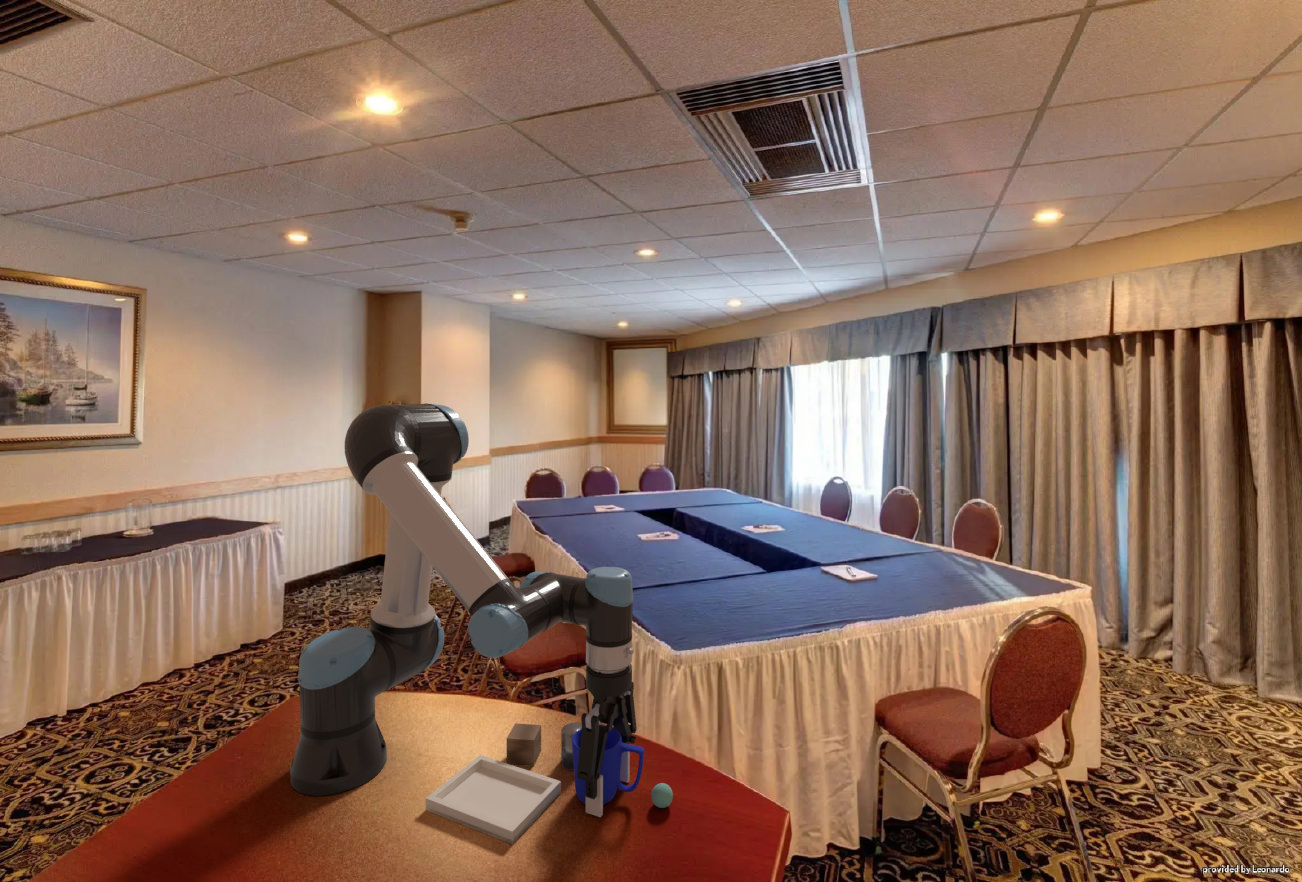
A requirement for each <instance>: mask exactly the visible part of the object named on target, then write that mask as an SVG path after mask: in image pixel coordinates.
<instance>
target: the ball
mask: <svg viewBox="0 0 1302 882" xmlns="http://www.w3.org/2000/svg"><path fill="white" fill-rule="evenodd" d="M650 795H651V797H650V798H651V801H652V803H653V805H655V807H657V808H659V809H664V808H667V807H669V806H670V804H671V803H672V802H673V798H674V793H673V790H672V788H671V786H670V785H669V784H667V783H663V782H661V783H658V784H656V785H654V787H653V788H652V790H651V794H650Z"/></svg>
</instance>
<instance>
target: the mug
mask: <svg viewBox="0 0 1302 882" xmlns="http://www.w3.org/2000/svg"><path fill="white" fill-rule="evenodd" d="M603 725H604V726H606V724H603ZM581 733H582V728H581V729H580V730H578V731H577V732H576V733H575V734H574V735H573V737H572V750H573V764H574V770H573V775H574V776H573V777H574V787H575V790H574V791H575V794H576V796H577V798H578V800H580V802H581V803H583V804H585V805H586V781H585V780H582V779H578V778H577V770H578V761H579V752H580V742H581ZM623 752H630V753H635V754H638V757H639V758H638V766H637V774H636V778H635V780H634V782H633V783H632V784H630V785H626V784H624V783H622V781H620V769H621V758H622V753H623ZM644 757H645V748H644V747H643V746H640V745H639V746H638V745H635V744H630V745H628V744H622V737H621V734H620V733H619V732H618V731H617V730H616V729H614V728H613V727H612V730H611V732H609V733H608V737H607V742H606V747H605V752H604V757H603V762H602V767H601V772H600V775H603V805H606V804H608V803H609V802H611V801H612V800H613V798H614V797H615V795H616V794H617V789H619V790H620V791H621V792H623V793H631V792H634V791H635V790H636V789H637V788H638V786H639V784H640V781H641V778H642V773H643V766H644Z"/></svg>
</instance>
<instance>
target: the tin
mask: <svg viewBox="0 0 1302 882" xmlns="http://www.w3.org/2000/svg"><path fill="white" fill-rule="evenodd" d="M581 728H582V723H581V722H569V723H567V724H565V725H563V727H562V728H561V731H560V732H561V733H560V734H561V736H560V737H561V738H560V741H561V742H560V749H561V750H560V763H561V764H560V765H561V766H562V767H563V769H564V768H565V769H566V770H570V771H574V764H573V750H572V737H573V735H574V734H575V733H576V732H577V731H578V730H580V729H581Z"/></svg>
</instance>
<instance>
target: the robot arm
mask: <svg viewBox="0 0 1302 882" xmlns="http://www.w3.org/2000/svg"><path fill="white" fill-rule="evenodd" d="M469 441H470V438H469V431H468V428H467V426H466V423H465V421H463V419H462V418H461V415H460V414H459V413H458V412H456V411H455V410H454V409H453V408H451V407H450V406H446V405H442V404H436V403H435V404H433V403H409V404H408V403H407V404H405V403H404V404H378V405H375V406H371V407H369V408H367V409H365V410H363V411H362V412H361V413H359V414H358V415H357V416H356V417H355V418H354V419H353V420H352V421H351V423H350V424H349V427H348V429H347V431H346V434H345V438H344V456H345V459H346V460H345V461H346V464H347V467H348V469H349V470H350V473H351V475H352V477H354V479H355V481H356V482H357V484H358V485H359V487H361V489H362V490H363V491H364V493H366V494H367V495H372V496H376V497H377V498H378V499H379V500H380V502H381V503H382V504H383V506H384V507H385V508H386V510H387V511H388V512H389V518H388V519H389V520H388V529H387V538H386V539H387V540H386V549H385V558H384V568H383V577H382V587H381V595H380V602H379V603H378V604H377V605H375V606H374V607H373V608H371V610H370V611H371V612H370V616H369V617H370V618H369V625H368V628H365V627H360V626H352V627H350V626H349V627H344V628H342V629H341V630H338V629H334V630H332V631H328V632H327V633H324V634H321V635H320V636H318V637H316V638H314V639H313V640H312V641H310V642H309V643H308V644H307V645H306V646H305V647H304V648H303V650H302V651H301V654H300V657H299V661H298V662H299V667H298V674H297V680H298V683H299V709H300V710H299V711H300V712H299V713H300V718H299V719H300V736H299V740H298V743H297V747H296V749H295V753H294V757H293V758H292V761H291V764H290V767H289V768H290V769H289V777H290V780H289V781H290V785H291V787H292V788H293V789H294V790H295V791H297V792H298V793H300V794H303V795H307V796H314V797H315V796H317V797H319V796H329V795H335V794H341V793H345V792H347V791H349V790H353V789H356V788H357V787H360V786H362V785H363V784H366V783H367V782H369V781H370V780H372V779H373V778H375V777H376V776H377V775H378V774H379V773H380V772H381V771H382V770H383V768H384V767H385V765H386V763H387V757H388V756H387V754H388V750H387V744H386V741H385V739H384V736H383V733H382V731H381V728H380V726H379V724H378V721H377V718H376V697H377V696H379V695H380V694H383V693H384V692H386V691H388V690H389V689H392V688H393V687H395V686H397V685H399V684H401V683H403V682H404V681H407V680H408V679H410V678H412V677H414V676H415V677H416V676H417V675H419V674H421V673H423V672H424V671H425V670H427V668H429V667H430V666H432V665H433V664H434V663H436V661H437V660H438V659H439V657H440V655H441V653H442V652H443V649H444V645H445V644H444V643H445V631H444V627H443V626H442V627H441V623H442V621H441V620H440V618H439V617H438V616H437V614H436V609H435V608H434V607H433V606H432V605H431V604H430V603H429V600H430V593H431V582H432V575H433V574H432V573H433V569H434V570H435V571H436V573H437V574H438V575H439V576H440V578H441V579H442V581H444V583H445V584H446V585H447V586H448V588H449V589H450V590H451V591H452V593H453V594H454V595H455V597H456V598H457V599H458V600H459V601H460V603H461V604H462V605H463V607H464V608H465V609H466V611H467V612H468V613H469V614H470V616H471V617H470V619H469V622H468V629H467V631H468V636H469V637H470V640H471V641H470V643H471V645H472V646H473V648H474V649H475V650H476V652H478V653H479V654H480V655H482V656H483V657H486V658H490V659H497V658H502V657H503V656H506V655H508V654H509V653H512V652H514V651H517V650H519V649H520V648H522V647H523V646H524V645H525V644H527V643H528V642H530V641H531V640H532V639H534V638H536V637H537V636H539V635H541V634H543V633H544V632H545V631H547V630H549V629H551V628H552V627H554V626H555V625H557V624H558V623H566V624H572V625H579V626H584V627H585V633H586V637H585V639H586V644H585V647H586V648H585V663H586V667H585V686H586V689H587V690H588V691H589V693H590V694H591V695H592V697H593V698H592V702H591V703H592V704H591V710H590V711H589V712H588V713H586V712H583V713H582V715H581V717H580V720H581V722H580V723H582V733H581V742H580V752H579V761H578V770H577V778H578V779H582V780H585V781H586V804H585V813H586V814H588V815H592V816H595V817H598V818H601V817H602V816H603V815H604V813H603V812H604V804H603V775H600V772H601V767H602V762H603V757H604V752H605V747H606V742H607V737H608V733H609V732H611V730H612V728H614V729H616V730H617V731H618V732H619V733H620V734H621V737H622V744H628V745H631V744H635V743H636V740H637V737H636V735H632V734H636V733H637V720H636V719H637V718H636V709H635V699H634V698H635V697H634V686H635V683H634V682H633V664H631V663H632V662H633V654H634V653H635V650H634V648H633V615H634V614H633V611H634V610H633V608H634V607H633V605H634V597H635V596H634V593H633V592H634V591H633V577H632V574H631V573H630V571H628V570H627V569H624V568H622V567H619V566H618V567H617V566H599V567H598V566H597V567H594V568H592V569H591V570H589V571H588V572H587V574H586V577H585V578H584V577H578V576H573V575H566V574H565V575H564V574H560V573H555V572H552V571H533V572H530V573H529V574H527V575H526V577H525V578H524V580H523V581H522V582H521V584H520V586H519V589H518V588H517V587H516V586H515V584H514V583H513V582H512V581H511V580H510V578H509V577H508V576H507V575H506V574H505V572H504V571H503V570H502V568H501V566H499V565H498V564H497V563H496V561H495V560H494V559H493V558H492V556H491V555H490V554H489V552H487V550H486V549H485V547H483V545H482V544H481V543H480V541H479V540H478V539H477V537H475V536H474V534H473V533H472V532H471V531H470V530H469V528H468V527H467V525H465V523H464V522H463V520H462V519H460V517H459V516H458V514H456V512H455V511H454V510H453V509H452V508H451V506H450V504H448V502H447V501H446V500H445V499H444V498H443V496H442V490H443V487H444V486H445V485H447V483H449V482H450V481H451V480H452V475H453V469H454V467H453V466H454V465H456V464H457V463H459V462H460V461H461V460H462V458H464V457H465V455H466V454H467V451H468V448H469ZM604 725H605V726H604ZM630 743H631V744H630ZM630 753H631V752H623V753H622V758H621V769H620V782H623V783H626V784H628V783H629V782H630V771H631V770H630V769H631V768H630V767H631V766H630V763H631V762H630V760H631V757H630V756H631V755H630Z"/></svg>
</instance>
